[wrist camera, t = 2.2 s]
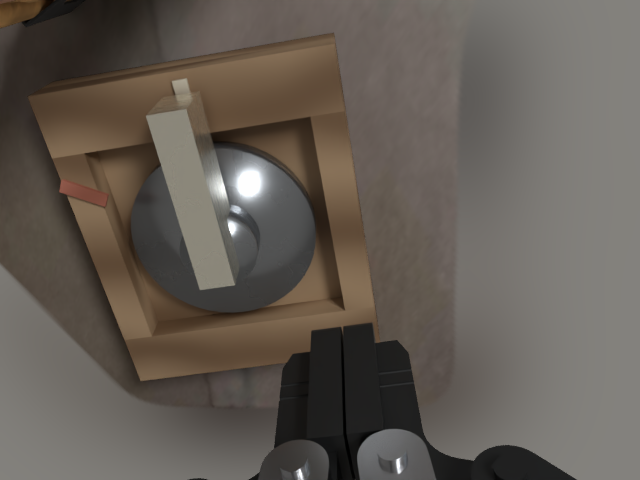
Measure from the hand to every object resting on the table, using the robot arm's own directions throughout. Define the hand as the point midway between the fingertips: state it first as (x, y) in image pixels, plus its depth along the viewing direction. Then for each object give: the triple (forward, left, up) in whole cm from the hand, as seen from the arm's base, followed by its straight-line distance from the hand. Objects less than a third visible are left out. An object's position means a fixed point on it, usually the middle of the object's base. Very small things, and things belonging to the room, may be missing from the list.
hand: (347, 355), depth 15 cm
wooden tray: (+5, -7, -20) cm, 22 cm away
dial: (+3, -7, -18) cm, 20 cm away
